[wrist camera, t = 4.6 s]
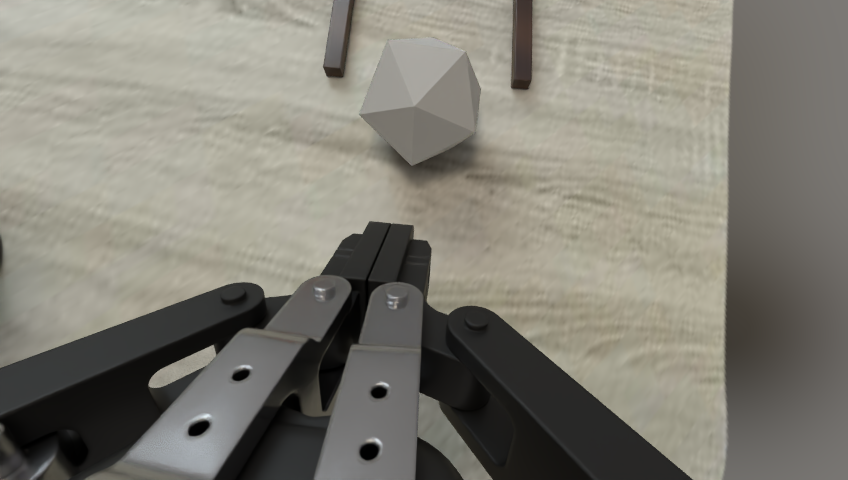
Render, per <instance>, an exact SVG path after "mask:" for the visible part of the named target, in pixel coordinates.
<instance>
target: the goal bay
mask: <svg viewBox="0 0 848 480" xmlns="http://www.w3.org/2000/svg"><path fill="white" fill-rule="evenodd" d="M353 4H354V0H334V2H333V8H332V14H331V21H330V27H329V34H328V40H327V46H326V53H325V59H324V65H323V68H324V70H325V73H326V75H327V76H336V77H343V74H344V67H345V60H346V53H347V46H348V39H349V32H350V25H351V18H352V11H353ZM531 79H532V0H513V39H512V77H511V88H520V89H528V87H529V85H530V83H531Z"/></svg>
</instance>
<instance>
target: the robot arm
mask: <svg viewBox="0 0 848 480" xmlns="http://www.w3.org/2000/svg"><path fill="white" fill-rule="evenodd" d="M413 237H414V226H413V225H403V224H391V223H382V222H372V221H370V222H369V223H368V225H367V227H366V229H365V231H364V232H363V234H352V235H350V236H349V237H347V238H345V239H344V240H343V241H342V242H341V244H340V245H339V247H338V250H336V251H335V253H334V255H333V256H332V258H331V259H330V261H329V262H328V264H327V265H326V267H325V269H324V270H323V272H322V273H321V275H320V276H317V277H313V278H311V279H308V280H307V281H305V282H304V283H302V284H301V285H300V286H299V288H298V289H297V290H296V291H295V292H294V294H293V295H288V296H279V297H269V298H265V296H264V291H263V289H262V288H261V287H260V286H258V285H256V284H253V283H245V282H242V283H233V284H229V285H226V286H223V287H220V288H217V289H214V290H212V291H209V292H206V293H204V294H201V295H198V296H195V297H193V298H190V299H187V300H185V301H182V302H179V303H176V304H174V305H171V306H168V307H165V308H163V309H160V310H157V311H155V312H152V313H149V314H146V315H144V316H141V317H138V318H136V319H133V320H130V321H127V322H125V323H122V324H119V325H117V326H114V327H111V328H108V329H106V330H103V331H100V332H97V333H95V334H92V335H89V336H87V337H84V338H81V339H78V340H76V341H73V342H70V343H68V344H65V345H62V346H59V347H57V348H54V349H51V350H48V351H46V352H43V353H40V354H38V355H35V356H32V357H29V358H27V359H24V360H21V361H19V362H16V363H13V364H10V365H8V366H5V367H2V368H0V480H463V478H462V477H461V475H460V474H459V472H458V471H457V469H456V468H455V467H454V466H453V465H452V463H451V462H450V461H449V460H448V459H447V458H446V457H445V456H444V455H443V454H442V453H441V452H440V451H439V450H437V449H436V448H435V447H433V446H432V445H430V444H429V443H427V442H426V441H424V440H422V439H420V438H419V437H417V430H418V409H419V392H420V393H422V394H425V395H427V396H429V397H431V398H434V399H436V400H438V401H439V405H440V408H441V410H442V412H443V413H444V414H445V416H446V417H447V419H448V420H449V421H450V423H451V424H452V425H453V427H454V428H455V429H456V431H457V432H458V433H459V435H460V436H461V437H462V439H463V440H464V441H465V443H466V444H467V445H468V447H469V448H470V449H471V451H472V452H473V453H474V455H475V456H476V458H477V459H478V460H479V462H480V463H481V464H482V466H483V467H484V468H485V470H486V471H487V472H488V474H489V475H490V476H491V478H492V479H493V480H693V479H691V478H690V477H689V476H688V475H687V474H685V473H684V472H683V471H682V470H681V469H680V468H678V467H677V466H676V465H675V464H674V463H672V462H671V461H670V460H669V459H668V458H666V457H665V456H664V455H663V454H662V453H661V452H659V451H658V450H657V449H656V448H655V447H653V446H652V445H651V444H650V443H649V442H647V441H646V440H645V439H644V438H643V437H642V436H640V435H639V434H638V433H637V432H636V431H634V430H633V429H632V428H631V427H630V426H628V425H627V424H626V423H625V422H624V421H623V420H621V419H620V418H619V417H618V416H617V415H615V414H614V413H613V412H612V411H611V410H609V409H608V408H607V407H606V406H605V405H604V404H602V403H601V402H600V401H599V400H598V399H596V398H595V397H594V396H593V395H592V394H590V393H589V392H588V391H587V390H586V389H585V388H583V387H582V386H581V385H580V384H579V383H577V382H576V381H575V380H574V379H573V378H571V377H570V376H569V375H568V374H567V373H566V372H564V371H563V370H562V369H561V368H560V367H558V366H557V365H556V364H555V363H554V362H552V361H551V360H550V359H549V358H548V357H547V356H545V355H544V354H543V353H542V352H541V351H539V350H538V349H537V348H536V347H535V346H533V345H532V344H531V343H530V342H529V341H528V340H526V339H525V338H524V337H523V336H522V335H520V334H519V333H518V332H517V331H516V330H514V329H513V328H512V327H511V326H510V325H509V324H507V323H506V322H505V321H504V320H503V319H501V318H500V317H499V316H498V315H497V314H495V313H494V312H492V311H490V310H488V309H486V308H482V307H478V306H464V307H460V308H457V309H455V310H454V311H452V312H451V313H450V314H449V315H446V314H443V313H441V312H438V311H436V310H435V309H433V308H432V307H430V306H429V305H428V304H427V302H426V301H427V295H428V288H429V277H430V264H431V250H432V249H431V247H430V245H429V244H428V242H427V241H424V240H414V239H413ZM211 345H214V348H215V351H216V357H215V358H214V359H213V360H212V361H211V362H210V363H209V364H208V365H207V366H205V367H203V368H201V369H199V370H197V371H195V372H193V373H191V374H189V375H187V376H185V377H183V378H181V379H179V380H176V381H174V382H172V383H170V384H168V385H166V386H164V387H160V388H151V387H149V386H148V384H149V381H150V379H151V377H152V376H153V375H154V374H155V373H156V372H157V371H158V370H160V369H162V368H164V367H166V366H168V365H170V364H172V363H174V362H177V361H179V360H181V359H183V358H185V357H187V356H190V355H192V354H194V353H196V352H198V351H201V350H203V349H205V348H207V347H209V346H211Z"/></svg>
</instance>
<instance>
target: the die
mask: <svg viewBox="0 0 848 480" xmlns="http://www.w3.org/2000/svg"><path fill="white" fill-rule="evenodd" d="M480 92H481V88H480V86H479V83H478V81H477V78H476V76H475V73H474V71H473V68H472V66H471V63H470V61H469V58H468V56H467V53H466V51H464V50H462V49H459V48H457V47H455V46H452V45H450V44H448V43H446V42H443V41H441V40H439V39H436V38H434V37H430V38H411V39H393V40H387V42H386V45H385V47H384V50H383V53H382V55H381V58H380V60H379V63H378V66H377V68H376V71H375V74H374V76H373V79H372V81H371V84H370V87H369V89H368V92H367V94H366V97H365V100H364V102H363V105H362V108H361V110H360V113H359V115H360V116H361V117H362V118H363V119H364V120H365V121H366V122H367V123H368V124H369V125H370V126H371V127H372V128H373V129H374V130H375V131H376V132H377V133H378V134H379V135H380V136H381V137H383V138H384V139H385V140H386V141H387V142H388V143H389V144H390V145H391V146H392V147H393V148H394V149H395V150H396V151H397V152H398V153H399V154H400V155H401V156H402V157H403V158H404V159H405V160H406V161H407V162H408V163H409V164H410V165H411V166H412V165H415V164H417V163H419V162H422V161H424V160H426V159H429V158H431V157H433V156H436V155H438V154H440V153H442V152H445V151H447V150H449V149H451V148H453V147H454V146H456V145H457V144H459V143H460V142H462V141H464V140H465V139H467V138H468V137H470V136H471V135H473V134H474V133H476V125H477V117H478V109H479V101H480Z"/></svg>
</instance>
